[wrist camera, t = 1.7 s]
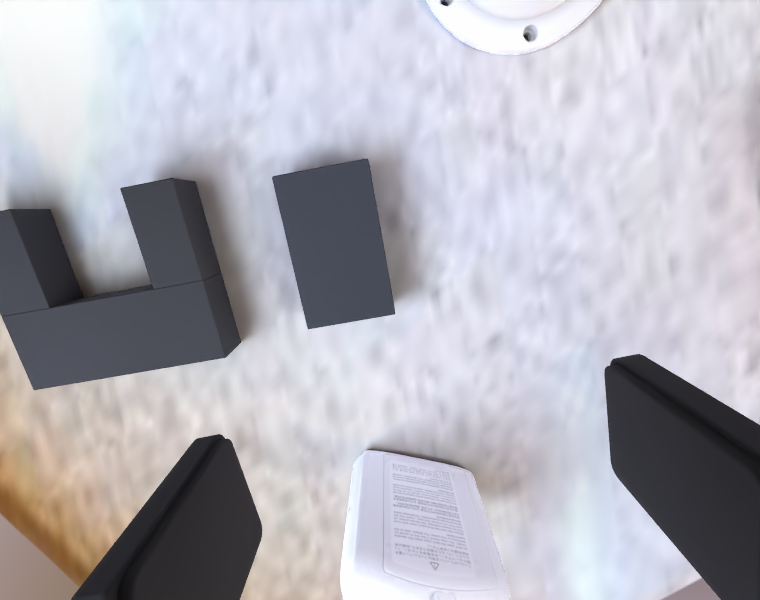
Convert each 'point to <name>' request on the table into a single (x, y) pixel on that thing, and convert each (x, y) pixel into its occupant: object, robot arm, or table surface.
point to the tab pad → (335, 243)
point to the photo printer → (417, 533)
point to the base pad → (116, 294)
